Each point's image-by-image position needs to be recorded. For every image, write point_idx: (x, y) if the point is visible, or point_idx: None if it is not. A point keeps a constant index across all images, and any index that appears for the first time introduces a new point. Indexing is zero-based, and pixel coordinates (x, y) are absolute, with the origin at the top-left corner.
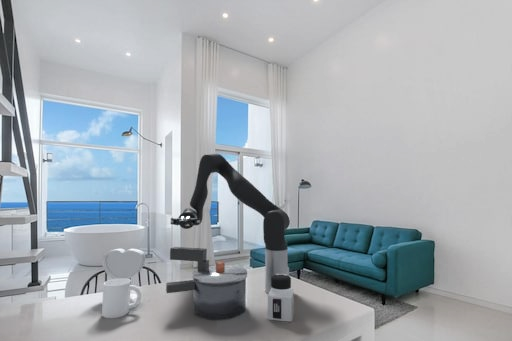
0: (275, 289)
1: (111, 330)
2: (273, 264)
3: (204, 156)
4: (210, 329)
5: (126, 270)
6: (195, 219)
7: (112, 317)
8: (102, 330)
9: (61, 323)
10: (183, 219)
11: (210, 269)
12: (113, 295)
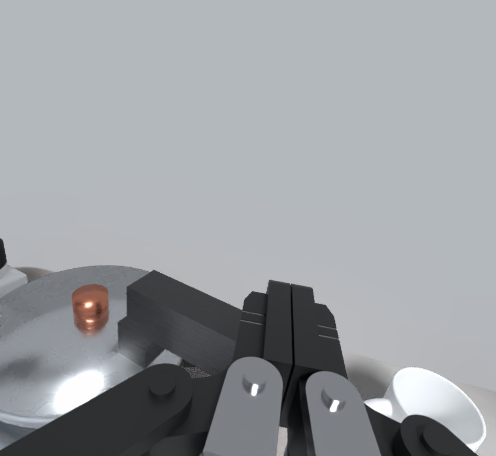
0: (6, 261)
1: (349, 369)
2: None
3: None
4: None
5: None
6: (15, 453)
7: None
8: (367, 374)
9: (492, 436)
10: (307, 417)
11: (110, 353)
12: (405, 386)
